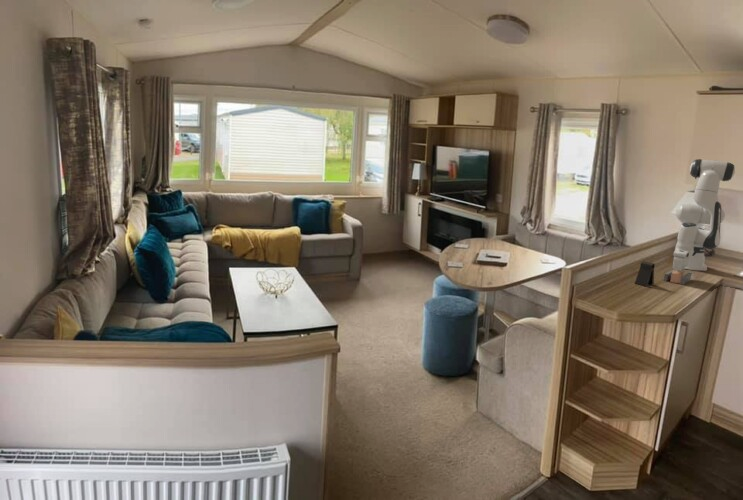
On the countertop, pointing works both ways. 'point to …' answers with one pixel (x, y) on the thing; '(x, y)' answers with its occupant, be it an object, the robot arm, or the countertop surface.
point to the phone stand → (645, 274)
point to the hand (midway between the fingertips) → (679, 275)
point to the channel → (683, 279)
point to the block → (676, 276)
